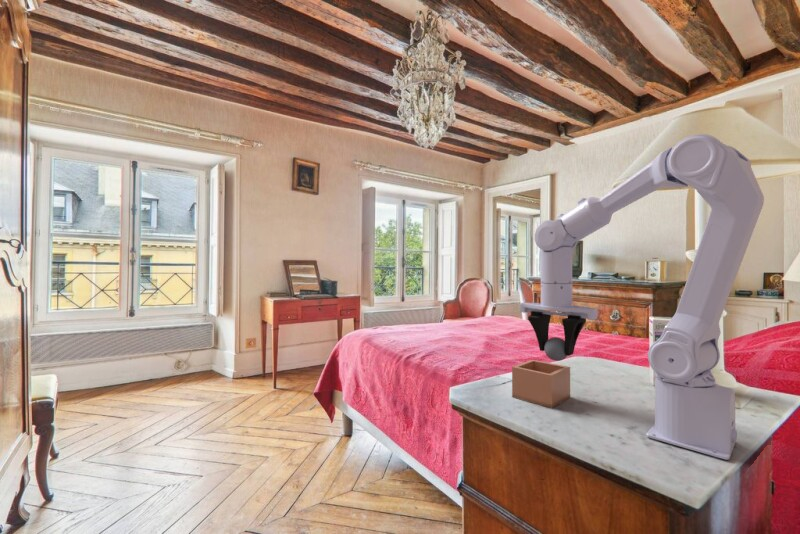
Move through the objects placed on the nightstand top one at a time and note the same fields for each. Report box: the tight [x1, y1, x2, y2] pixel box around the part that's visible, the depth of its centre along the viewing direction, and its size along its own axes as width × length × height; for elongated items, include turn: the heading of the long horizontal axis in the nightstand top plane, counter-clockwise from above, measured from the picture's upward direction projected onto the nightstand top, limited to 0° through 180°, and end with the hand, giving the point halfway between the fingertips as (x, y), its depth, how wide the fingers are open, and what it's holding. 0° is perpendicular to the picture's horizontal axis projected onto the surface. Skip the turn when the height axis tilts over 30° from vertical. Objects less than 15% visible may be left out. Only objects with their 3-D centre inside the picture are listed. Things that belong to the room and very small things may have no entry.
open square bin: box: [511, 359, 571, 409], centre depth 74 cm, size 8×8×6 cm
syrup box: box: [648, 316, 672, 387], centre depth 81 cm, size 6×6×14 cm
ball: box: [544, 337, 568, 362], centre depth 73 cm, size 4×4×4 cm
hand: (556, 352), depth 73 cm, fingers closed on ball, 4 cm apart
